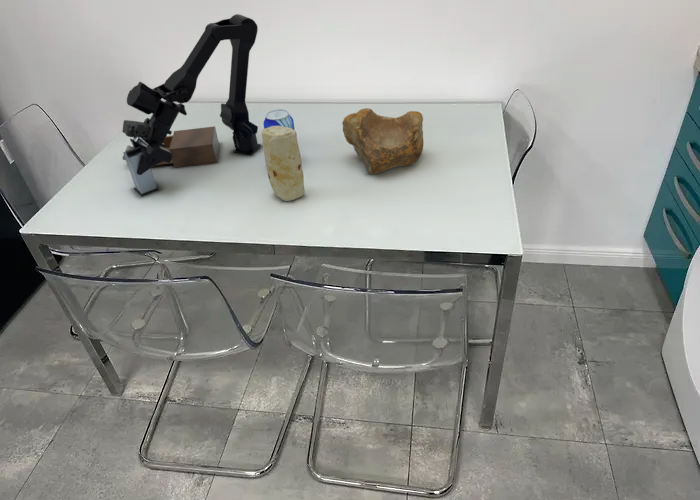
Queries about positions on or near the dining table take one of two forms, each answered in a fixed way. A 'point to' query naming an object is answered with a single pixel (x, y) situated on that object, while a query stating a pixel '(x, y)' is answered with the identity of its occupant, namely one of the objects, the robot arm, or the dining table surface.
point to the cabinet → (194, 147)
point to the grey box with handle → (142, 182)
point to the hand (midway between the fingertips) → (135, 171)
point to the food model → (283, 162)
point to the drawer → (167, 146)
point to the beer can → (278, 119)
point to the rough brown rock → (384, 138)
